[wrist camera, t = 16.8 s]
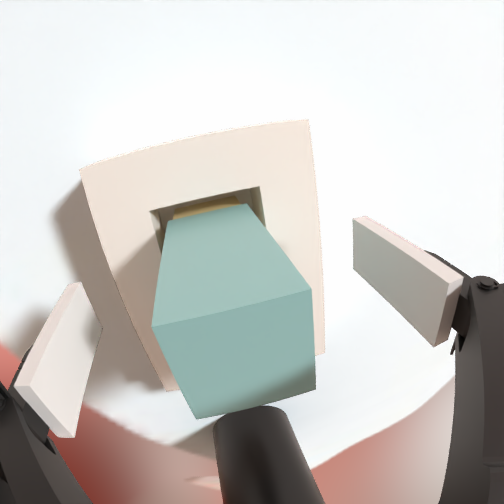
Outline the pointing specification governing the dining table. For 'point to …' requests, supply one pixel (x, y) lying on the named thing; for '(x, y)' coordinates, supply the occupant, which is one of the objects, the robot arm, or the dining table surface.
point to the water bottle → (262, 459)
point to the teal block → (231, 311)
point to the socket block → (198, 191)
